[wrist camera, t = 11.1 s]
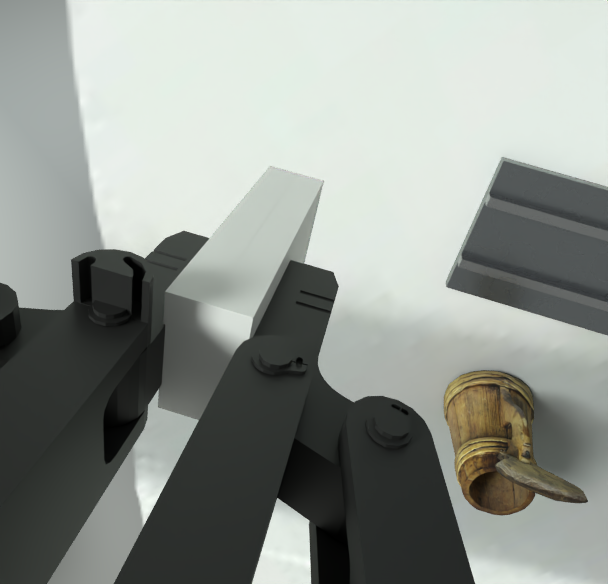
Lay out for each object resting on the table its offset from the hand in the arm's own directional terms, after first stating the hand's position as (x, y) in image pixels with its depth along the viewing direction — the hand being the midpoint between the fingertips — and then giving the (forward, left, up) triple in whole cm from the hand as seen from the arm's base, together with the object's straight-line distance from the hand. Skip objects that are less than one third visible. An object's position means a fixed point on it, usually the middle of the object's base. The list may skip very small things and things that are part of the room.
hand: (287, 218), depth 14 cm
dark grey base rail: (+10, +26, -29) cm, 41 cm away
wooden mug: (+26, +20, -30) cm, 44 cm away
